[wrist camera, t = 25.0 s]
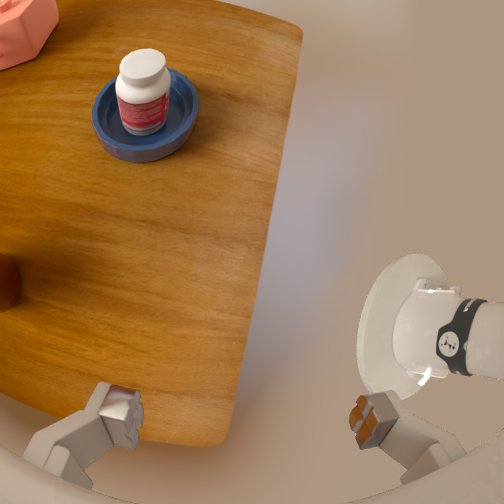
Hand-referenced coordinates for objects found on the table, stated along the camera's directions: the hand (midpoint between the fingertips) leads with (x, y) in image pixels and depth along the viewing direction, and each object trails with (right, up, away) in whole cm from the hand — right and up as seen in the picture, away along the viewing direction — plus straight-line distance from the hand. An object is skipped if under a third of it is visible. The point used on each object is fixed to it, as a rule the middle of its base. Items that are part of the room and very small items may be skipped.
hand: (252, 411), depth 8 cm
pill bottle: (-14, +23, +22) cm, 35 cm away
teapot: (-46, +44, +14) cm, 66 cm away
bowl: (-14, +23, +22) cm, 35 cm away
